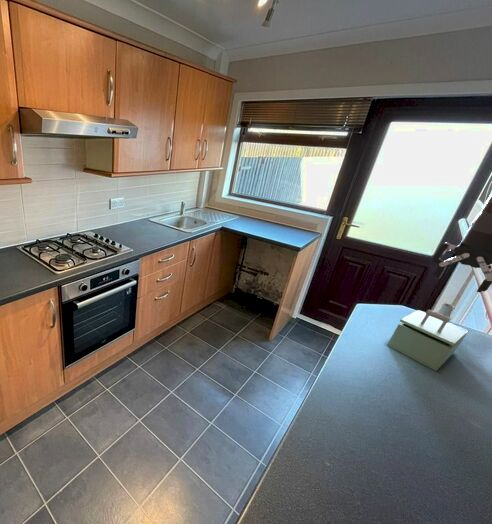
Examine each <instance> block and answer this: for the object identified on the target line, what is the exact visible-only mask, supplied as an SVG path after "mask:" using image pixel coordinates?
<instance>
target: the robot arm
mask: <svg viewBox="0 0 492 524" xmlns="http://www.w3.org/2000/svg"><path fill="white" fill-rule="evenodd" d="M452 250H453V251H454V254H455V256H454V257H451V258H448V259H446V260H443V257H444V256H445V254H446V252H450V251H452ZM431 261H432V262H433V263H435V264H437V268H436V270H435V271H434V273H433V276H435V279H437V280H440V279H441V278H442V276H443V274H444V273H445V271H446V269H447V267H448V266H449V265H451V264H453V263H456V262H459V264H461V265H464V266H469V267H471V268H474V269H480V270H481V272H482V273H483V275H484V277H485V279H483V281H482V282H481V284H480V286H479V287H478V288H477V290H476V292H477V293H482V292H486V291H488V290H489V288H490V287H491V285H492V193H491V194H490V195H489V197H488V198H487V200H486V201H485V203H484V205H483V206H482V208H481V210H480V211H479V212H478V214H477V215H476V216H475V218H474V219H473V221H472V222H471V223H470V225H469V228H468V230H467V231H466V233H465V235H464V236H463V238H462V239H461V242H460V243H459V244H458V245H454V244H452V243H451V242H444V243H442V244H441V245H440V247H439V248H438V249H437V252H435V255H434V256H433V257H432V259H431Z"/></svg>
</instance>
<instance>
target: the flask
mask: <svg viewBox="0 0 492 524" xmlns="http://www.w3.org/2000/svg"><path fill="white" fill-rule="evenodd" d="M455 309H456V306H454V305H453V304H450V303H447V302H442V303H441V307H440V308H439V309H438V310H437V311H435V312H436V313H439V314H441V315H444V316H446V317H449V318H451V314H452V312H453V310H455Z"/></svg>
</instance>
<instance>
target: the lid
mask: <svg viewBox="0 0 492 524" xmlns="http://www.w3.org/2000/svg"><path fill="white" fill-rule="evenodd" d="M436 312H437V311H434V310H431V309H427V310H426V311H422V310H420V309H417V310H416V311H414V312H411V313H409V314H408V315H406V316H404V317H402V318H400V319H399V322H400V323H401V322H402V323H404V324H406V325H409V326H411V327H413V328H415V329H417V330H420V331H422V332H424V333H426V334H428V335H430V336H433V337H435V338H437V339H439V340H441V341H444V342H446V343H448V344H450V345H452V346H454V345H455V344H456V343H457V342H458V341H459V340H460V339H461V338H463V337H464V336H465V335H466V334H467V335H468V333H469V332H470V330H468V329H466V328H463V327H462V326H458V325H456V324H454V323H451V320H452V318H451V317H450V318H449V317H446V316H444V315H441V314H439V313H436ZM467 335H466V336H467ZM466 336H465V337H466ZM465 337H464V338H465Z"/></svg>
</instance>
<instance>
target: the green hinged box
mask: <svg viewBox="0 0 492 524" xmlns="http://www.w3.org/2000/svg"><path fill="white" fill-rule="evenodd" d="M467 335H468V333H467V334H466V335H465V336H464V337H463V338H461V339H460V340H459V341H458V342H457V343H456V344H455V345H454V346H452V345H450V344H448V343H446V342H444V341H441V340H439V339H437V338H435V337H433V336H430V335H428V334H426V333H424V332H422V331H420V330H417V329H415V328H413V327H411V326H409V325H406V324H404V323H402V322H400V323H398V324H397V326H396V328H395V330H394V332H393V333H392V335H391V337H390V339H389V340H388V343H387V345H386V346H387V347H389V348H392V349H394V350H396V351H398V352H400V353H401V354H403V355H405V356H407V357H409V358H411V359H413V360H415V361H417V362H418V363H420V364H422V365H424V366H426V367H428V368H430V369H432V370H434V371H436V372H437V371H438V370H439V369H440V368H441V367H442V366H443V365H444V364H445V363H446V362H447V361H448V360H449V359H450V358H451V357H452V356H453V355H454V353H455V352H456V351H457V349H458V348H459V346H460V345H461V343H462V342H463V341H464V339H465V337H466V336H467Z"/></svg>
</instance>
